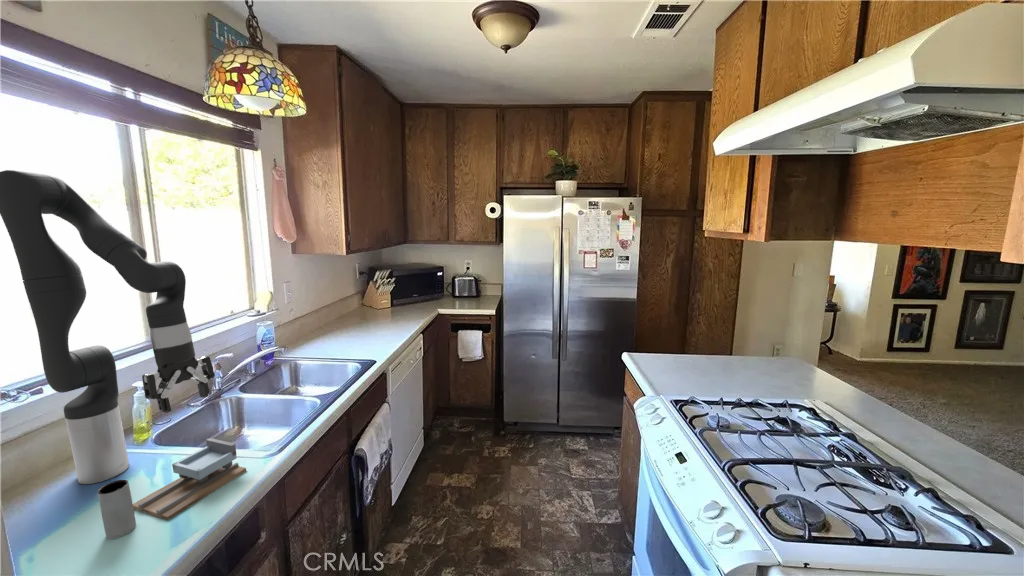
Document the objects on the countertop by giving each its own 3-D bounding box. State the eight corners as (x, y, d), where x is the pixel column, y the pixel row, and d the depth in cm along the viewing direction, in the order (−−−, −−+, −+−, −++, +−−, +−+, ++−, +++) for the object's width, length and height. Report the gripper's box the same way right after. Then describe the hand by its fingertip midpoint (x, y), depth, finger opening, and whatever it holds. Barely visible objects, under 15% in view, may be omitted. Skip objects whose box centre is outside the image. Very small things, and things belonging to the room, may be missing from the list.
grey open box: (174, 479, 95) (171, 457, 94) (212, 458, 104) (210, 437, 103) (200, 487, 93) (197, 464, 92) (237, 465, 101) (235, 443, 100)
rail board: (131, 507, 89) (130, 501, 88) (213, 462, 106) (212, 456, 105) (167, 520, 85) (166, 513, 85) (246, 470, 102) (245, 465, 102)
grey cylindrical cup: (117, 540, 80) (108, 495, 78) (100, 537, 80) (91, 492, 79) (142, 524, 84) (134, 480, 82) (125, 521, 85) (117, 478, 83)
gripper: (194, 334, 105) (206, 391, 107) (127, 351, 92) (143, 416, 94) (212, 334, 102) (224, 393, 105) (147, 352, 89) (163, 418, 91)
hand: (186, 404), depth 99 cm, fingers open, 8 cm apart
